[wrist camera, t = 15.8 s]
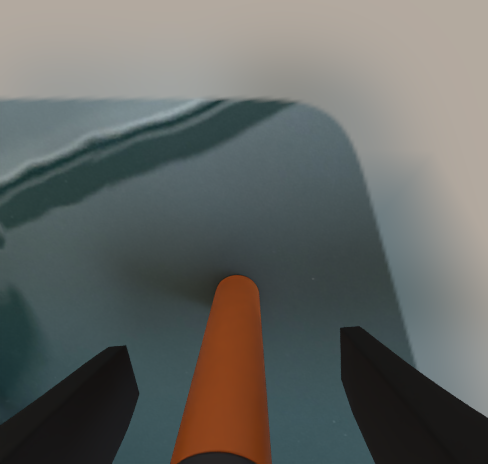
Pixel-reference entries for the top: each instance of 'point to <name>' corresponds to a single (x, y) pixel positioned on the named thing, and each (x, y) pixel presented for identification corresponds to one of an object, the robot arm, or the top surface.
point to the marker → (228, 385)
